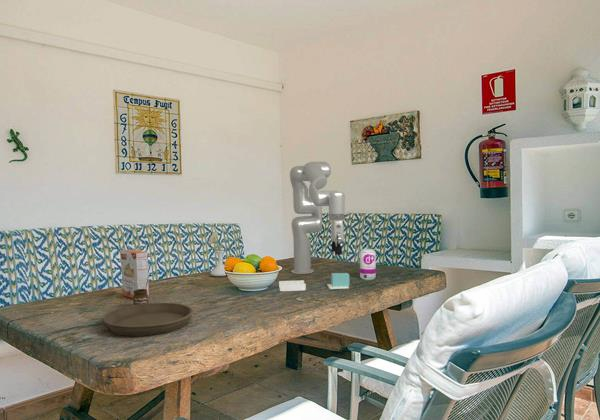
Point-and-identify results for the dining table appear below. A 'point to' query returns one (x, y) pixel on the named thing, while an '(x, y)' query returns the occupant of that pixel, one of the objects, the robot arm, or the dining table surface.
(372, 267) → the supplement can
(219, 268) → the flower in vase
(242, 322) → the dining table surface
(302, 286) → the channel
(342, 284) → the teal block
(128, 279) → the cracker box
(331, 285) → the tile
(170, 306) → the plant saucer
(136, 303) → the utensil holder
